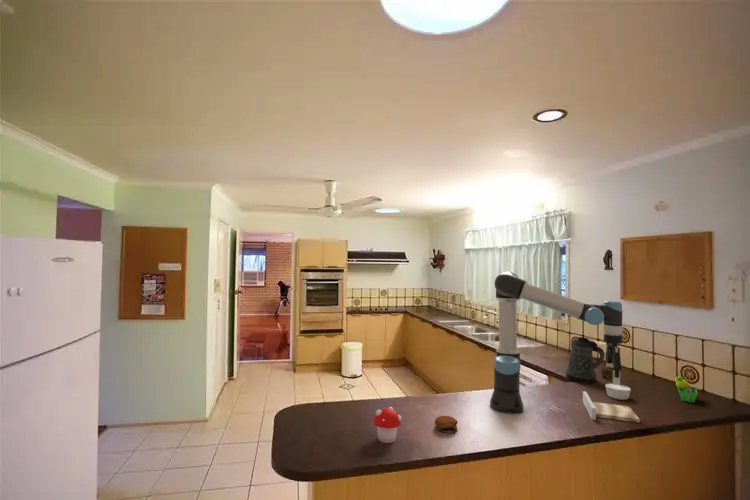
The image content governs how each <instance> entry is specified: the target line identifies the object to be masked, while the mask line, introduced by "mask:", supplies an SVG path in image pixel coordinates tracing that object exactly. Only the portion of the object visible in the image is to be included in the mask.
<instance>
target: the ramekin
mask: <svg viewBox="0 0 750 500" xmlns="http://www.w3.org/2000/svg"><path fill="white" fill-rule="evenodd" d="M604 387H605V389H606V394H607V396H608V397H610V398H612V399H614V400H623V401H625V400H628V399H629V398H630V394H631V391H632V389H631V388H630V387H629V386H626V385H623V384H620V385H614V384H613V383H606V384H605V385H604Z"/></svg>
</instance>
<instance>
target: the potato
mask: <svg viewBox="0 0 750 500" xmlns="http://www.w3.org/2000/svg"><path fill="white" fill-rule="evenodd" d="M600 374H601V378H602V379H603V380H606V381H608V382H610V383H611V384H613V370H612V367H609V366H607V365H605V366H603V367H602V368H601V369H600ZM623 381H624V376H623V374H622V373H621V372H620V384H622V383H623Z"/></svg>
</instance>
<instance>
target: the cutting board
mask: <svg viewBox="0 0 750 500" xmlns="http://www.w3.org/2000/svg"><path fill="white" fill-rule="evenodd" d="M592 403H593V405H594V406H595V408H596V418H603V419H609V420H617V421H624V422H633V423H640V421H641V420H640V417H639V416H638V415H637V413H635V412H634V411H633V409H632V408H631V407H630V406H628V405H619V404H613V403H606V402H605V403H604V402H596V401H592Z"/></svg>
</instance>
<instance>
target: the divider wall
mask: <svg viewBox="0 0 750 500" xmlns="http://www.w3.org/2000/svg"><path fill="white" fill-rule="evenodd" d="M592 402H593V401H592V399H591V398H590V396H589V394H588V393H587V391H582V403H583V405H584V406H585V408H586V410H587V412H588V414H589V416H590V418H591V420H593V421H594V420H595V421H596V419H597V417H596V408H595V406H594V405H593V403H592Z"/></svg>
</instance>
